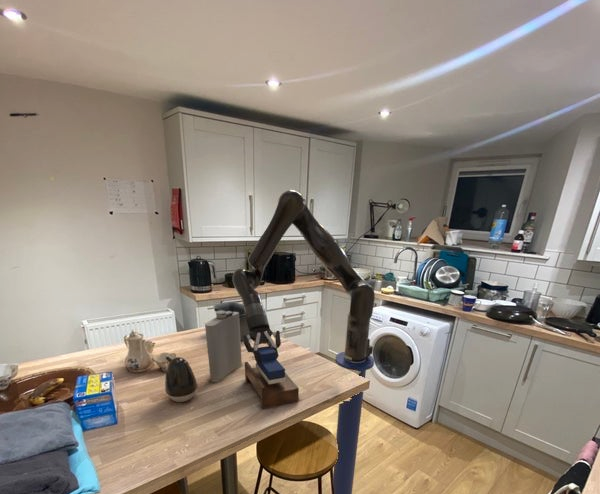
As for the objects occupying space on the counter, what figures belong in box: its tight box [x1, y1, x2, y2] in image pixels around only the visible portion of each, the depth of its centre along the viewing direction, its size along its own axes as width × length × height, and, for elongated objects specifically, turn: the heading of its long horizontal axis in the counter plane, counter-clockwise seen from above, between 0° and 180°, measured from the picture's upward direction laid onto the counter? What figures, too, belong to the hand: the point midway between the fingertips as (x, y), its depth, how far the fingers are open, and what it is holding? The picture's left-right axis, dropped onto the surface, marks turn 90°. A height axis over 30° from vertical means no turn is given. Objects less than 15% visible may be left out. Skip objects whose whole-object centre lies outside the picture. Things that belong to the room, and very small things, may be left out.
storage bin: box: [212, 301, 250, 341], centre depth 165 cm, size 21×16×14 cm
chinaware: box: [123, 329, 177, 373], centre depth 134 cm, size 28×17×17 cm, turn 54°
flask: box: [204, 311, 243, 383], centre depth 127 cm, size 17×5×25 cm, turn 155°
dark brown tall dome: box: [164, 356, 198, 403], centre depth 112 cm, size 10×10×15 cm
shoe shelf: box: [244, 361, 300, 410], centre depth 119 cm, size 13×20×8 cm, turn 24°
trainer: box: [255, 345, 286, 384], centre depth 116 cm, size 14×6×8 cm, turn 25°
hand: (267, 360), depth 118 cm, fingers closed on trainer, 5 cm apart
